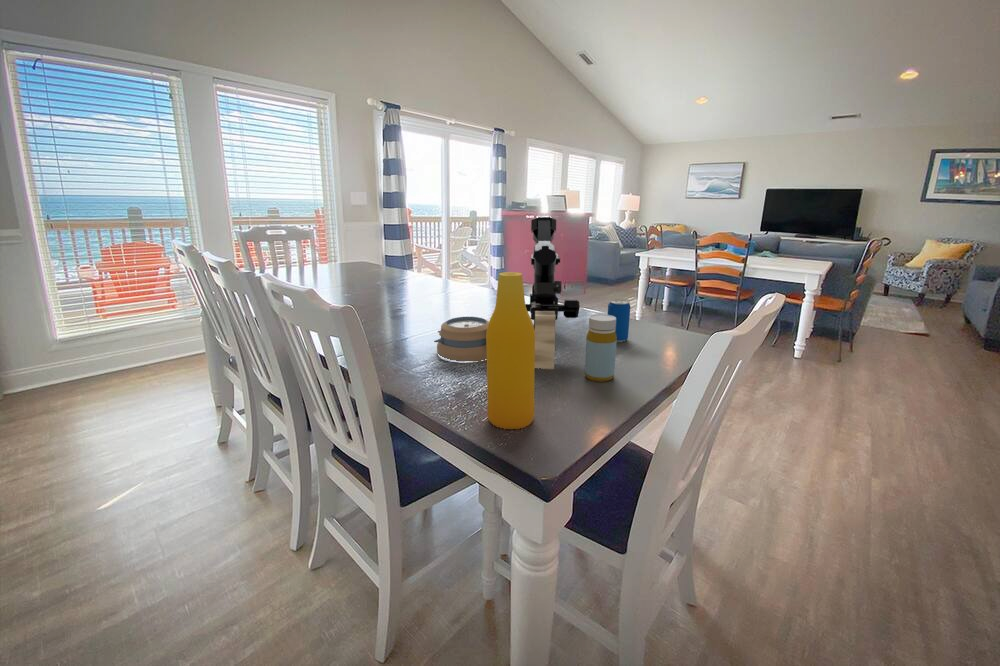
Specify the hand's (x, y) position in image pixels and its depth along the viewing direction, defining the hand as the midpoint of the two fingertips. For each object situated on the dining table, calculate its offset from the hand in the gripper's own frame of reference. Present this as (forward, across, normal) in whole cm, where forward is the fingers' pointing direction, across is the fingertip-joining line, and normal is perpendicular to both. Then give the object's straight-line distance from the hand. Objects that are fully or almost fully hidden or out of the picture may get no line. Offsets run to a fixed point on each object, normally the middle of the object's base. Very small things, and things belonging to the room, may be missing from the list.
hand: (544, 335), depth 118 cm
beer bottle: (+29, -7, -19) cm, 36 cm away
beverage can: (-8, +22, +18) cm, 30 cm away
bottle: (+13, +13, -3) cm, 19 cm away
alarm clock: (+2, -18, +8) cm, 20 cm away
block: (+8, 0, +2) cm, 8 cm away
